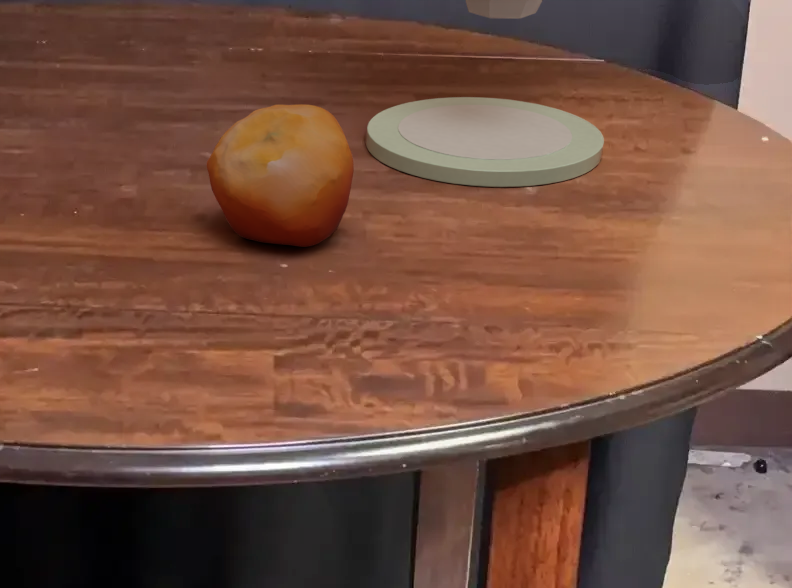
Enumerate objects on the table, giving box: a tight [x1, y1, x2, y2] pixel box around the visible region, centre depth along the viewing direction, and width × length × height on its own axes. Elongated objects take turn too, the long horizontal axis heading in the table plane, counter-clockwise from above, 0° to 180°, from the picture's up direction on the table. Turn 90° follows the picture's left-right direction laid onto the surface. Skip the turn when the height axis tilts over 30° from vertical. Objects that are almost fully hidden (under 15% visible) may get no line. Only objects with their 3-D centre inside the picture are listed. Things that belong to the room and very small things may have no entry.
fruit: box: [206, 103, 355, 248], centre depth 85 cm, size 8×8×8 cm
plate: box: [365, 96, 605, 188], centre depth 98 cm, size 15×15×1 cm
